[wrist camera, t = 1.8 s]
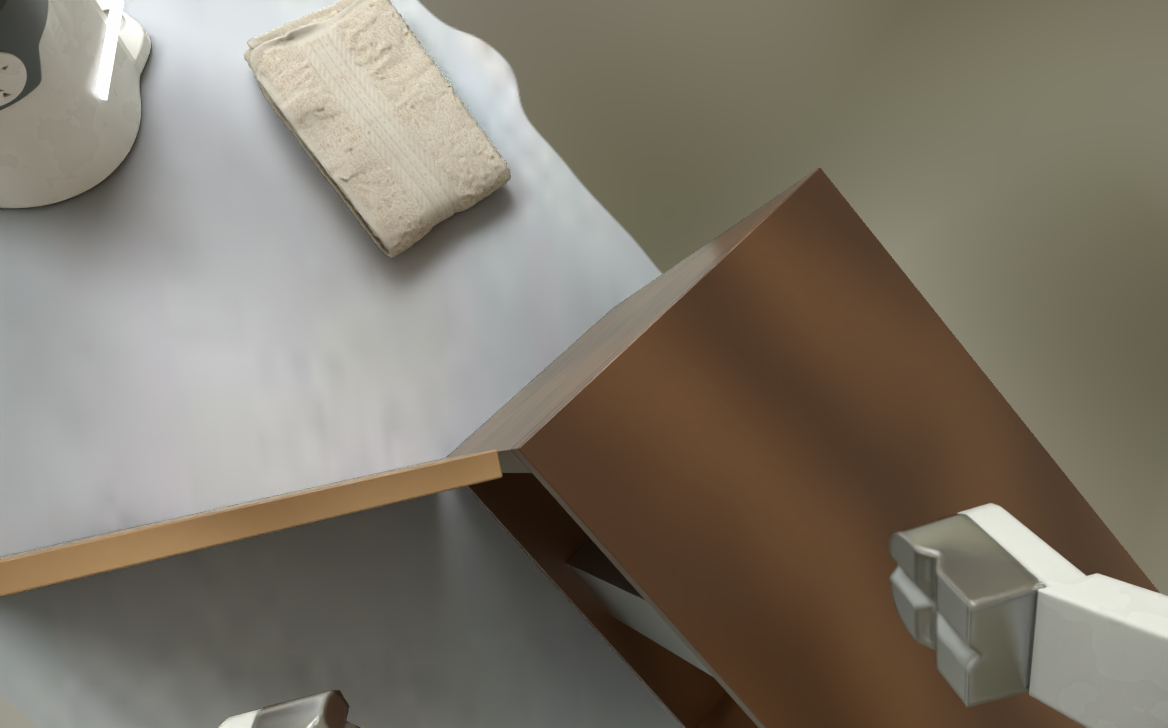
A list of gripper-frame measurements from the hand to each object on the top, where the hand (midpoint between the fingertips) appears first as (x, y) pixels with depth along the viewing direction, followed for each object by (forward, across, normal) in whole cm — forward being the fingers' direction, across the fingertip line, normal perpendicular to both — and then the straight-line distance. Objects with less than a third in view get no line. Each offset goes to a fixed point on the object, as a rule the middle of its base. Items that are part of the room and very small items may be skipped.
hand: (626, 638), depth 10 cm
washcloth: (+48, +8, -6) cm, 49 cm away
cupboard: (+35, -4, +26) cm, 44 cm away
